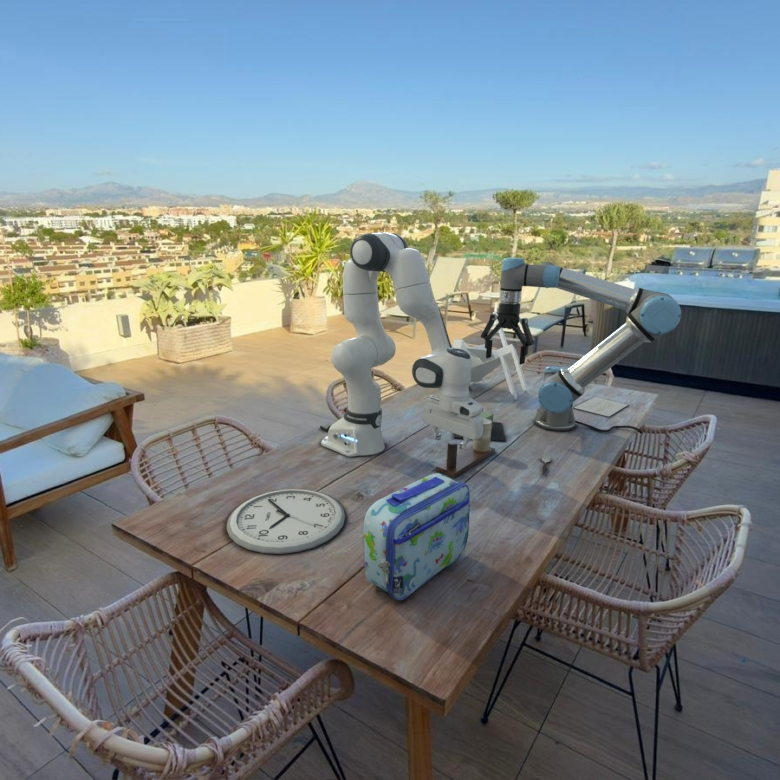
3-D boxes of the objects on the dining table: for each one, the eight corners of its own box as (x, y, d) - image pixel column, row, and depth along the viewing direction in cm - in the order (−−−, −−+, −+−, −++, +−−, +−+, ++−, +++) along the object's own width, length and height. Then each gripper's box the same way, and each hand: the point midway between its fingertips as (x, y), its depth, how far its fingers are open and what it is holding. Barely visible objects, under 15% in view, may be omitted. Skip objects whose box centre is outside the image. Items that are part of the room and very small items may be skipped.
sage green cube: (492, 429, 197) (493, 414, 196) (482, 434, 192) (483, 419, 190) (475, 424, 202) (476, 409, 200) (465, 429, 196) (466, 414, 195)
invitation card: (608, 416, 214) (573, 407, 224) (608, 416, 214) (573, 408, 224) (628, 404, 229) (594, 396, 238) (628, 405, 229) (594, 397, 238)
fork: (538, 475, 162) (539, 470, 161) (542, 455, 176) (543, 450, 175) (547, 477, 161) (547, 471, 160) (550, 457, 175) (551, 451, 174)
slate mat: (500, 423, 205) (500, 422, 204) (504, 441, 188) (505, 440, 187) (454, 421, 207) (454, 419, 206) (454, 438, 190) (454, 437, 189)
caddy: (494, 452, 178) (497, 421, 175) (454, 477, 160) (456, 442, 156) (477, 446, 183) (479, 416, 179) (435, 470, 164) (437, 436, 161)
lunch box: (392, 613, 103) (394, 520, 97) (356, 587, 110) (356, 498, 104) (472, 558, 121) (478, 476, 114) (437, 539, 128) (441, 461, 122)
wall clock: (345, 545, 122) (213, 550, 119) (345, 551, 122) (214, 556, 120) (344, 484, 150) (238, 487, 148) (345, 490, 151) (239, 492, 148)
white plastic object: (461, 429, 252) (437, 405, 227) (444, 352, 274) (420, 323, 250) (535, 404, 240) (518, 377, 215) (510, 326, 262) (492, 293, 237)
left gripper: (419, 396, 162) (417, 436, 166) (477, 413, 150) (472, 457, 154) (431, 391, 166) (428, 431, 171) (488, 408, 154) (483, 450, 159)
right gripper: (473, 300, 190) (470, 356, 197) (538, 307, 175) (532, 368, 182) (484, 298, 196) (480, 353, 202) (547, 305, 181) (541, 364, 187)
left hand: (449, 444), depth 162 cm, fingers open, 8 cm apart
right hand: (504, 360), depth 192 cm, fingers open, 13 cm apart
